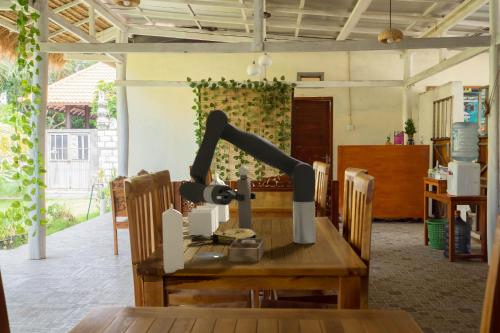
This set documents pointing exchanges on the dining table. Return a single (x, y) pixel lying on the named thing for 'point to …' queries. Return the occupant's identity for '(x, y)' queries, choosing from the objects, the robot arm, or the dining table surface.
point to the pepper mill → (245, 206)
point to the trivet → (209, 255)
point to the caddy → (246, 249)
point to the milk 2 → (222, 209)
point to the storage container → (203, 220)
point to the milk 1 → (172, 240)
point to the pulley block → (225, 236)
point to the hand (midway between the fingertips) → (249, 197)
